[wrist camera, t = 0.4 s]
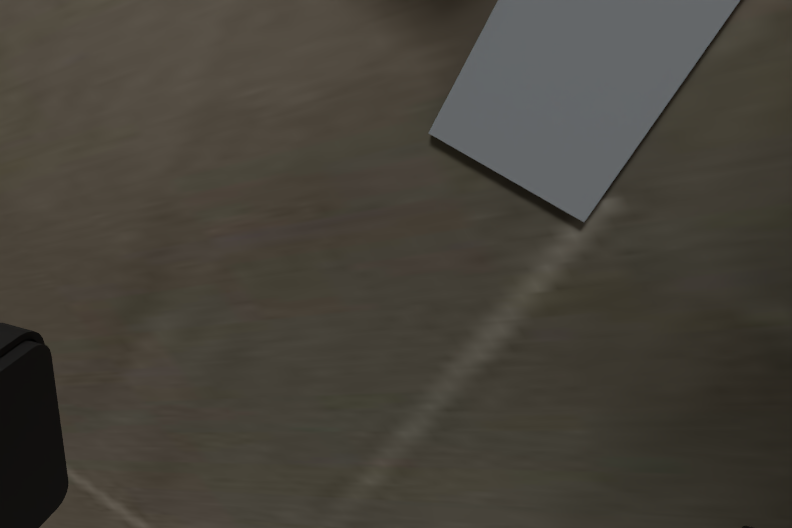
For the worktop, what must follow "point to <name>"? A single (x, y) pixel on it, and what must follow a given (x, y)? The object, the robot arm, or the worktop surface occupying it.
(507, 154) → the charcoal pad
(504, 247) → the worktop surface
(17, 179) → the worktop surface
